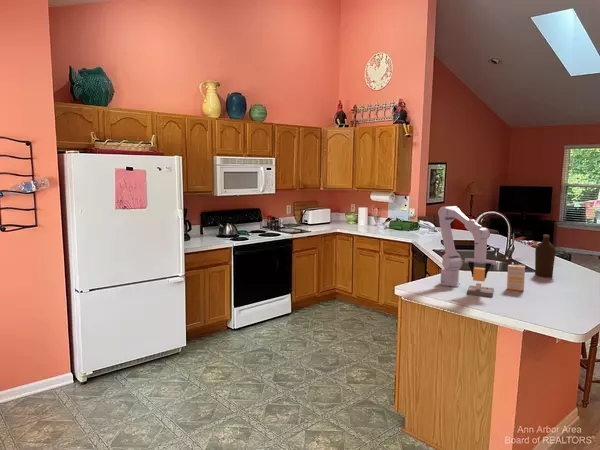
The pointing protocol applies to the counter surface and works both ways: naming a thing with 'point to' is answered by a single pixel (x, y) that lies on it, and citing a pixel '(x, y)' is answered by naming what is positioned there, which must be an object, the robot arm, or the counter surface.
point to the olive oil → (544, 258)
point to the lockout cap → (479, 274)
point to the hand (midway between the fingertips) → (479, 277)
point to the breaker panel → (481, 291)
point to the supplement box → (515, 277)
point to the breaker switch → (478, 286)
